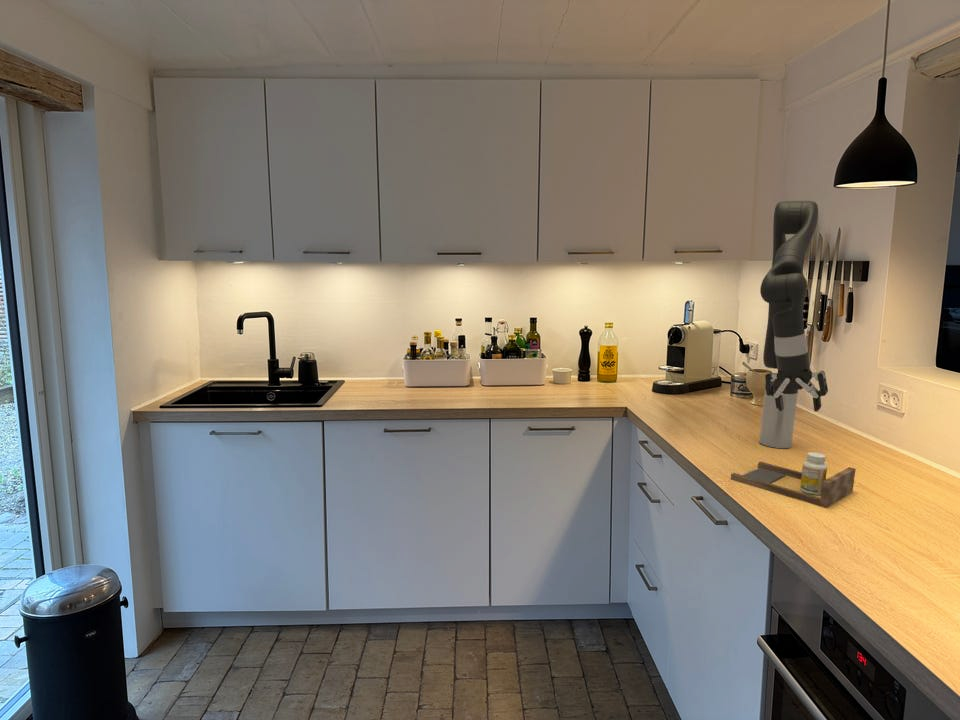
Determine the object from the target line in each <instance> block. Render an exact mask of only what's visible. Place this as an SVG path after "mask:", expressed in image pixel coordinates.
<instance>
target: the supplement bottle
mask: <svg viewBox="0 0 960 720" xmlns="http://www.w3.org/2000/svg"><path fill="white" fill-rule="evenodd" d="M826 458H827V457H826V455H825V454H823V453H820V452H813V451H809V452H808V453H807V456H806V459H807V460H805V461H804V462H803V464H802V471H801V472H802V477H801V479H800V484H799V485H800V486H799V489H800V490H801V491H802V493H805V494H809V495H812V496H821V492H822V484H823V481H824V480H826V479H827V472H828V466H827V464H826V463H825V461H826Z"/></svg>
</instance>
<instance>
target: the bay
mask: <svg viewBox="0 0 960 720" xmlns="http://www.w3.org/2000/svg"><path fill="white" fill-rule="evenodd" d="M758 468H763V469H766V470H770V471H774V472H777V473H781V474H785V475H786V477H787V476H788V477H792V478H795V479H799V480H801V477H802V471H798V470H794V469H790V468H787V467H783V466H778V465H776V464H772V463H767V462H764V461H759V462H758V463H757V469H758ZM856 471H857V469H856V468H855V467H847V468H845V469H843V470H841V471H839V472H838V473H835V474H833V475H832V476H830V477H828V478H826V480H824V481H823V484H822V492H821V495H820V497H819V496H817V495H813V494H808V493H805V492H803V491H802V492H801V491H797V490H794V489H791V488H787V487H784V486H782V485H778V484H773V483H767V482H764V481H760V480H757V479H753V478H750V477H746V476H743V475H744V474H739V473H736V472H733V473H731V474H730V480H732V481H734V482H735V481H736V482H739V483H742V484H746V485H749V486H751V487H752V486H753V487H755V488H760V489H762V490H766V491H769V492H772V493H775V494H780V495H783V496H786V497H789V498H792V499H797V500H800V501H802V502H807V503H810V504H813V505H816V506H820V507H823V508H828V507H830V506H831V505H833V504H834V503H836V502H838V501H840V500H841V499H843V498H845V497H846V496H847V495H848V496H849V494H851V493H853V491H854V484H855V476H856Z"/></svg>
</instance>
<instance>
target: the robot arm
mask: <svg viewBox="0 0 960 720" xmlns="http://www.w3.org/2000/svg"><path fill="white" fill-rule="evenodd" d="M773 211H774V213H773V223H772V224H773V226H772V227H773V229H772V231H773V232H772V233H773V234H772V235H773V236H772V242H773V243H772V244H773V245H772V246H773V247H772V260H771V261H772V263H771V268H770V269H769V271H768V272H767V273H766V274H765V276H764V278H763V279H762V281H761V284H760V287H759V288H760V289H759V291H760V296H761V298H762V300H763V301H764V302H765V303H768V315H767V325H766V335H765V339H764V346H763V356H762V357H763V360H762V361H763V364H764V367H766V368H768V369H775V370H776V369H777V372H776V373H775V372H772V371H768V372H767V373H766V374H765V376H764V377H765V384H764V386H765V387H764V395H763V402H762V403H763V404H762V413H761V424H760V431H759V432H760V434H759V443H760V444H761V445H763V446H766V447H770V448H776V449H791V448H792V447H793V446H792V445H793V437H794V429H795V420H796V411H797V403H798V400H797V399H798V393H799V390H802V389H804V390H805V391H806V393H809V394H810V395H811V396H812V397H813V398H812V403H813V404H812V405H813V412H815V413H817V412H819V410H820V409H821V408H822V400H821V399H822V398H821V397H822V396H823V397H825V396H826V395H827V394H828V392H829V388H828V382H827V377H826V372H825V371H824V370H819V372H818V371H817V372H816V371H815V372H813V371H812V370H811V366H810V356H809V347H808V340H807V336H806V332H805V324H804V308H805V301H806V297H807V292H808V281H807V279H806V277H805V274H804V272H803V269H804V263H805V259H806V254H807V252H808V251H807V250H808V248H809V246H810V244H811V241H812V239H813V236H814V233H815V232H816V228H817V225H818V220H819V219H818V218H819V206H818V204H817V202H816V201H814V200H782V201H781V200H780V201H778V202H777V204H776V205H775V208H774V210H773ZM786 235H793V236H791V237H790V238H789V239H787V238H786ZM812 378H814V379H815V381H816V382H818V386H819V389H818V388H817V387H816V386H815V384H814V383H813V382H812V381H811V380H812Z"/></svg>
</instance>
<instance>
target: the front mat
mask: <svg viewBox="0 0 960 720" xmlns="http://www.w3.org/2000/svg"><path fill="white" fill-rule="evenodd" d="M742 475H743V476H746V477H750V478H753V479H757V480H760V481H764V482H767V483H771V484H773V483H775V482H776V481H779V480H781V479H783V478H785V477H787V475H785V474H781V473H777V472H774V471H770V470H766V469H763V468H758V467H757V468H755V469H753V470H751V471H749V472H747V473H745V474H742Z"/></svg>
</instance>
